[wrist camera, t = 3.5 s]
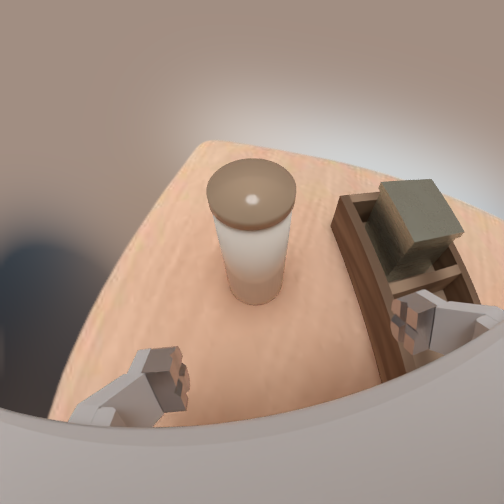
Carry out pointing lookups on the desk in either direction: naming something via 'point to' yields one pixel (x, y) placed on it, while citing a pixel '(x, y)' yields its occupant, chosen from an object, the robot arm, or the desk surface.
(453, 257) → the crate
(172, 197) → the desk surface
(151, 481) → the robot arm
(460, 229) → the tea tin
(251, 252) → the lidded white canister
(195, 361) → the desk surface
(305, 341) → the desk surface
